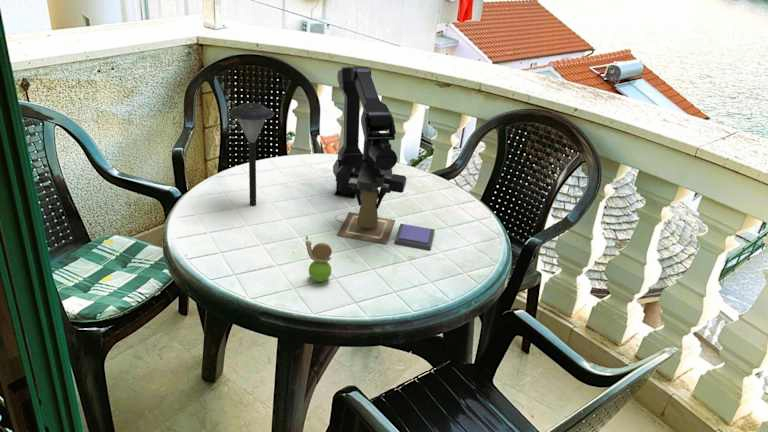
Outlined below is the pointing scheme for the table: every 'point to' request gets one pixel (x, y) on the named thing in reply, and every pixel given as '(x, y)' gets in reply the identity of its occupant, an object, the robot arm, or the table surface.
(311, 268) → the snail figurine
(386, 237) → the marked board
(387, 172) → the phone
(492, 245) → the table surface
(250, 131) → the solar garden light
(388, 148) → the robot arm
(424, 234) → the ink pad
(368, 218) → the cork
